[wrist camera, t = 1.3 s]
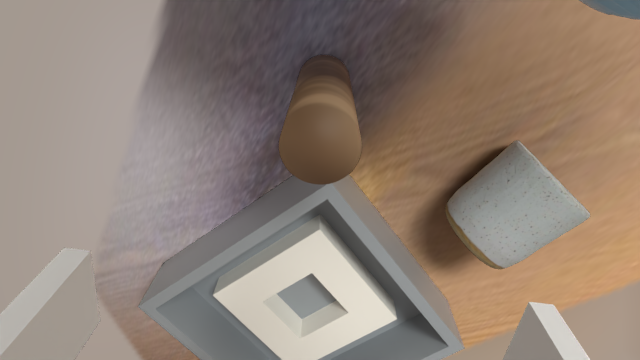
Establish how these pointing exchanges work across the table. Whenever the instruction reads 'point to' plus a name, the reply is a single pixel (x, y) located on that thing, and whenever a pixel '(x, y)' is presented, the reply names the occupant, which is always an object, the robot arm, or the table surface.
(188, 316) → the grey box
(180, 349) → the table surface
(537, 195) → the ceramic mug
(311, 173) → the walnut peg
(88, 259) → the robot arm
